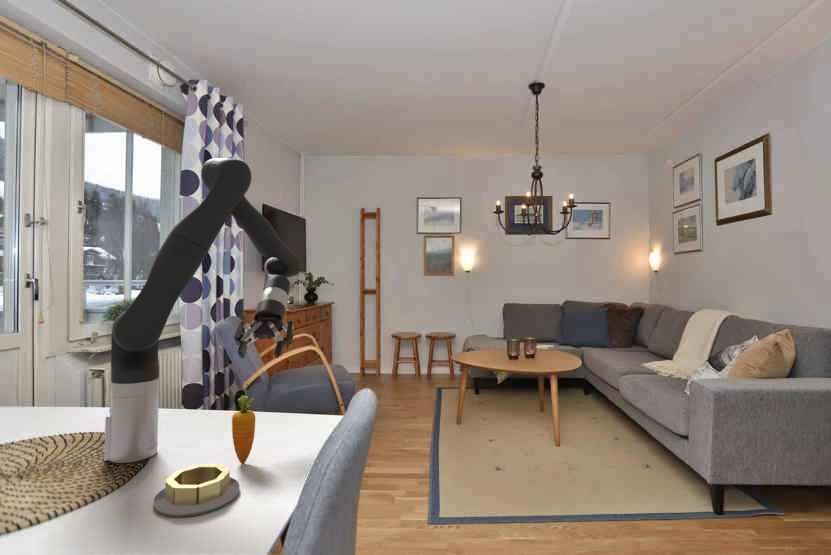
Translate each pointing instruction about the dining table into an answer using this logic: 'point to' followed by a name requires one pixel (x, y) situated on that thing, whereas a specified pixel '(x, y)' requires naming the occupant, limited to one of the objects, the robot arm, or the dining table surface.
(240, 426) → the carrot
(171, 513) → the hub socket
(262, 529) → the dining table surface
